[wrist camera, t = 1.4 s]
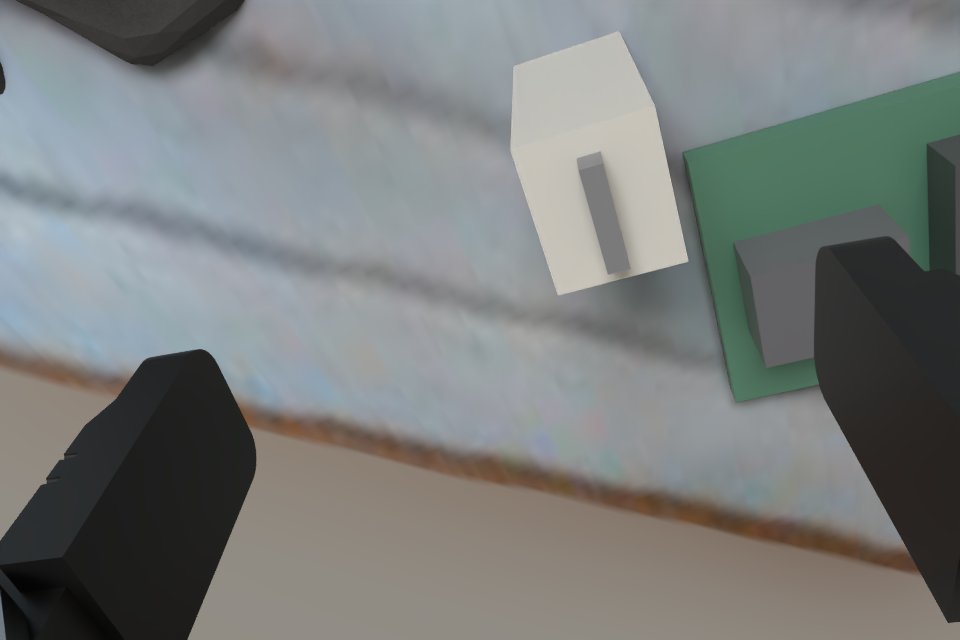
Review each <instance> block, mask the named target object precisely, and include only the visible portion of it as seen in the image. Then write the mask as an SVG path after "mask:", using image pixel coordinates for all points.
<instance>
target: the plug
mask: <svg viewBox="0 0 960 640" xmlns="http://www.w3.org/2000/svg"><path fill="white" fill-rule="evenodd" d="M510 150H511V153H512V156H513V160H514V163H515V166H516V169H517V172H518V175H519V178H520V181H521V184H522V187H523V190H524V193H525V196H526V199H527V202H528V205H529V208H530V211H531V214H532V218H533V221H534V224H535V227H536V230H537V233H538V236H539V239H540V242H541V245H542V248H543V251H544V254H545V257H546V260H547V263H548V266H549V269H550V273H551V276H552V279H553V282H554V285H555V288H556V291H557V294H558V295H562V294H566V293H570V292H574V291H578V290H581V289H585V288H589V287H593V286H597V285H601V284H604V283H608V282H612V281H616V280H620V279H624V278H628V277H631V276H635V275H639V274H643V273H647V272H651V271H655V270H658V269H662V268H666V267H670V266H674V265H678V264H682V263H685V262H688V257H687V252H686V248H685V243H684V239H683V234H682V229H681V225H680V220H679V215H678V211H677V206H676V201H675V197H674V192H673V187H672V183H671V178H670V174H669V169H668V164H667V160H666V155H665V150H664V146H663V141H662V136H661V132H660V127H659V122H658V118H657V113H656V109H655V105H654V103H653V101H652V99H651V97H650V95H649V92H648V90H647V88H646V86H645V84H644V82H643V80H642V78H641V76H640V74H639V72H638V70H637V67H636V65H635V63H634V61H633V59H632V57H631V55H630V53H629V51H628V49H627V47H626V45H625V42H624V40H623V38H622V36H621V34H620V32H619V31H618V32H615V33H612V34H609V35H606V36H603V37H600V38H597V39H594V40H591V41H588V42H585V43H582V44H579V45H576V46H573V47H570V48H567V49H564V50H561V51H558V52H555V53H552V54H549V55H546V56H543V57H540V58H537V59H534V60H531V61H528V62H525V63H522V64H519V65H516V66H514V76H513V100H512V124H511V149H510Z"/></svg>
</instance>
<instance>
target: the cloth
mask: <svg viewBox="0 0 960 640" xmlns="http://www.w3.org/2000/svg"><path fill="white" fill-rule="evenodd" d="M16 1H18V2H20V3H22V4H25V5H27V6H29V7H31V8H33V9H35V10H37V11H39V12H41V13H43V14H45V15H46V16H48V17H50V18H52V19H53V20H55V21H57V22H58V23H60V24H62V25H64V26H65V27H67V28H69V29H71V30H72V31H74V32H76V33H78V34H79V35H81V36H83V37H84V38H86V39H88V40H90V41H91V42H93V43H95V44H97V45H98V46H100V47H102V48H104V49H105V50H107V51H109V52H110V53H112V54H114V55H116V56H117V57H119V58H121V59H122V60H124V61H126V62H129V63H131V64H143V65H149V66H153V65H155V64H156V63H158V62H159V61H161V60H162V59H164V58H165V57H167V56H168V55H169V54H171V53H172V52H174V51H175V50H177V49H178V48H180V47H181V46H183V45H184V44H186V43H188V42H189V41H191V40H192V39H194V38H196V37H197V36H199V35H201V34H202V33H204V32H205V31H207V30H208V29H210V28H211V27H212V26H214V25H215V24H217V23H218V22H220V21H221V20H222V19H224V18H225V17H227V16H228V15H230V14H231V13H232V12H234V11H235V10H237V8H238V7H239V6H240V5H241V4H242V3H243V2H244V0H16ZM4 90H5V77H4V72H3V67H2V65H1V63H0V94H3V92H4Z"/></svg>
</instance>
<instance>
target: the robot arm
mask: <svg viewBox="0 0 960 640" xmlns="http://www.w3.org/2000/svg"><path fill="white" fill-rule="evenodd" d="M814 361H815V368H816V374H817V378H818V382H819V386H820V389H821V392H822V394H823V397H824V399H825V401H826V403H827V405H828V406H829V408H830V410H831V412H832V414H833V415H834V417H835V419H836V421H837V423H838V425H839V426H840V428H841V430H842V432H843V434H844V435H845V437H846V439H847V441H848V443H849V444H850V446H851V448H852V450H853V452H854V453H855V455H856V457H857V459H858V461H859V463H860V464H861V466H862V468H863V470H864V472H865V473H866V475H867V477H868V479H869V481H870V482H871V484H872V486H873V488H874V490H875V491H876V493H877V495H878V497H879V499H880V501H881V502H882V504H883V506H884V508H885V510H886V511H887V513H888V515H889V517H890V519H891V520H892V522H893V524H894V526H895V528H896V529H897V531H898V533H899V535H900V537H901V539H902V540H903V542H904V544H905V546H906V548H907V549H908V551H909V553H910V555H911V557H912V558H913V560H914V562H915V564H916V566H917V568H918V569H919V571H920V573H921V575H922V577H923V578H924V580H925V582H926V584H927V586H928V587H929V589H930V591H931V593H932V595H933V596H934V598H935V600H936V602H937V604H938V605H939V607H940V609H941V611H942V613H943V614H944V616H945V618H946V620H947V622H948V623H951V622H960V275H957V274H955V273H953V272H951V271H948V270H946V269H944V268H943V269H937V270H931V271H924V270H923V269H922V268H921V267H920V266H919V265H918V264H917V263H916V262H915V261H914V260H913V259H912V258H911V257H910V256H909V255H908V254H907V252H906V251H905V250H904V249H903V248H902V247H901V246H900V245H899V244H898V243H897V242H896V241H895V240H894V239H893V238H891V237H889V236H882V237H876V238H870V239H864V240H858V241H852V242H846V243H840V244H834V245H828V246H823V247H821V248H820V249H819V251H818V253H817V257H816V266H815V314H814ZM64 457H65V458H64V460H59V462H58V463H57V464H56V466H55V467H54V468H53V470H52V471H51V473H50V474H49V475H48V477H47V478H46V480H47V484H43V485H41V486H40V487H39V489H38V490H37V492H36V493H35V494H34V496H33V497H32V499H31V500H30V501H29V502H28V504H27V505H26V507H25V508H24V509H23V511H22V512H21V513H20V515H19V516H18V517H17V519H16V520H15V521H14V523H13V524H12V526H11V527H10V528H9V530H8V531H7V532H6V534H5V535H4V537H3V538H2V539H1V541H0V640H187V639H188V636H189V634H190V632H191V629H192V627H193V624H194V622H195V620H196V617H197V614H198V612H199V610H200V607H201V605H202V603H203V600H204V598H205V595H206V593H207V590H208V588H209V585H210V583H211V580H212V578H213V575H214V573H215V571H216V568H217V566H218V564H219V561H220V559H221V556H222V554H223V551H224V549H225V546H226V544H227V541H228V539H229V536H230V534H231V532H232V529H233V527H234V524H235V522H236V520H237V517H238V515H239V512H240V510H241V507H242V505H243V502H244V500H245V498H246V495H247V492H248V490H249V488H250V485H251V483H252V481H253V478H254V475H255V470H256V449H255V443H254V439H253V436H252V433H251V431H250V429H249V427H248V425H247V423H246V421H245V419H244V417H243V415H242V413H241V411H240V409H239V407H238V405H237V403H236V401H235V399H234V397H233V395H232V393H231V390H230V388H229V386H228V384H227V382H226V380H225V378H224V376H223V374H222V372H221V370H220V368H219V366H218V364H217V363H216V361H215V359H214V358H213V357H212V355H211V354H210V353H208V352H207V351H205V350H202V349H197V350H191V351H185V352H179V353H173V354H167V355H161V356H156V357H150V358H147V359H146V360H144V361H143V362H142V364H141V365H140V366H139V368H138V369H137V370H136V372H135V373H134V375H133V376H132V377H131V379H130V380H129V382H128V383H127V384H126V386H125V387H124V389H123V390H122V391H121V393H120V394H119V396H118V397H117V398H116V400H115V401H113V402H112V403H111V404H110V405H109V406H108V407H106V408H105V409H104V410H103V411H102V412H100V413H99V414H98V415H97V416H96V417H94V418H93V419H92V420H91V421H90V422H89V423H87V424H86V425H85V426H84V428H83V429H82V430H81V432H80V433H79V434H78V436H77V437H76V439H75V440H74V441H73V443H72V444H71V445H70V447H69V448H68V449H67V451H66V452H65V453H64Z"/></svg>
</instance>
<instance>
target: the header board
mask: <svg viewBox="0 0 960 640" xmlns="http://www.w3.org/2000/svg"><path fill="white" fill-rule="evenodd" d="M683 156H684V161H685V166H686V171H687V176H688V181H689V186H690V191H691V196H692V200H693V205H694V210H695V215H696V220H697V225H698V230H699V235H700V240H701V245H702V250H703V255H704V260H705V265H706V270H707V275H708V280H709V285H710V289H711V294H712V299H713V304H714V309H715V314H716V319H717V324H718V329H719V334H720V339H721V344H722V349H723V354H724V359H725V364H726V369H727V374H728V379H729V383H730V388H731V391H732V393H733V396H734V399H735V402H741V401H745V400H750V399H755V398H759V397H764V396H768V395H773V394H778V393H782V392H787V391H792V390H796V389H801V388H805V387H810V386H815V385H819V382H818V378H817V374H816V368H815V361H814V314H815V266H816V257H817V253H818V251H819V249H820V248H821V247H823V246H828V245H834V244H840V243H846V242H852V241H858V240H864V239H870V238H876V237H882V236H889V237H891V238H893V239H894V240H895V241H896V242H897V243H898V244H899V245H900V246H901V247H902V248H903V249H904V250H905V251H906V252H907V254H908V255H909V256H910V257H911V258H912V259H913V260H914V261H915V262H916V263H917V264H918V265H919V266H920V267H921V268H922V269H923V270H924V271H931V270H937V269H943V268H944V269H946V270H948V271H951V272H953V273H955V274H957V275H960V72H959V73H955V74H952V75H948V76H945V77H941V78H938V79H934V80H931V81H928V82H924V83H921V84H917V85H914V86H910V87H907V88H903V89H900V90H897V91H893V92H890V93H886V94H883V95H879V96H876V97H872V98H869V99H866V100H862V101H859V102H855V103H852V104H848V105H845V106H841V107H838V108H835V109H831V110H828V111H824V112H821V113H817V114H814V115H810V116H807V117H804V118H800V119H797V120H793V121H790V122H786V123H783V124H779V125H776V126H773V127H769V128H766V129H762V130H759V131H755V132H752V133H748V134H745V135H742V136H738V137H735V138H731V139H728V140H724V141H721V142H717V143H714V144H711V145H707V146H704V147H700V148H697V149H693V150H690V151H686V152H683Z"/></svg>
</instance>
